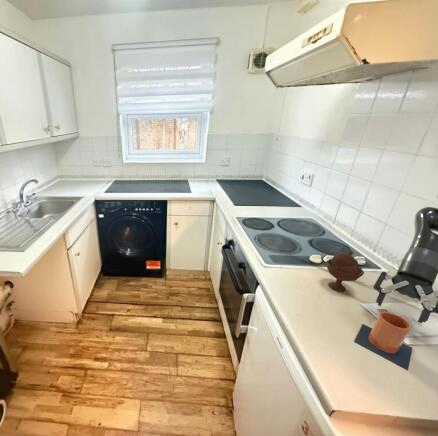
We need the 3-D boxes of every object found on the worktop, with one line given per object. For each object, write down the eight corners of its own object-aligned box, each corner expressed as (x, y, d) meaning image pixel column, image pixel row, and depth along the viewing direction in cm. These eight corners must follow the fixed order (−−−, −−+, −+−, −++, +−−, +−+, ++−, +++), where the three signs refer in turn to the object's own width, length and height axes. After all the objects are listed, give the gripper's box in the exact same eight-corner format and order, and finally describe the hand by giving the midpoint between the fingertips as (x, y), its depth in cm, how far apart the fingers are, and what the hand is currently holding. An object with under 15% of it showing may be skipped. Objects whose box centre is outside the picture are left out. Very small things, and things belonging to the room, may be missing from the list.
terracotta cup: (399, 345, 67) (412, 321, 64) (395, 358, 64) (409, 333, 60) (370, 331, 72) (382, 308, 68) (365, 342, 68) (377, 319, 65)
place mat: (412, 348, 67) (412, 347, 67) (407, 370, 61) (408, 369, 61) (362, 324, 74) (362, 323, 74) (354, 341, 69) (354, 341, 69)
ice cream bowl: (354, 301, 84) (369, 265, 78) (316, 287, 91) (328, 253, 85) (356, 287, 91) (370, 253, 85) (321, 275, 98) (332, 243, 92)
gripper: (389, 251, 74) (368, 297, 72) (461, 272, 64) (439, 326, 62) (385, 260, 79) (366, 302, 77) (452, 280, 69) (431, 330, 67)
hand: (398, 313), depth 69 cm, fingers open, 8 cm apart
